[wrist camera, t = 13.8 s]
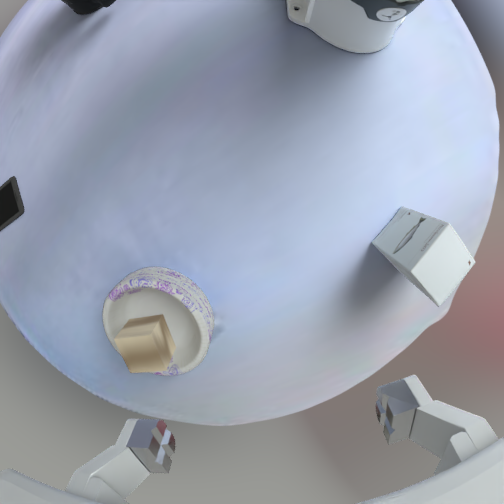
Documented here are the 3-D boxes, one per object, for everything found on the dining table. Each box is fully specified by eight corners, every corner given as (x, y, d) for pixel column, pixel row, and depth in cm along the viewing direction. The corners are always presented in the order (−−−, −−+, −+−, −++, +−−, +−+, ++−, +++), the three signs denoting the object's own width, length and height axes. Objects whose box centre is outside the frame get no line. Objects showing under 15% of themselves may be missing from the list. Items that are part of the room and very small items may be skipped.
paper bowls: (143, 352, 45) (127, 381, 38) (109, 270, 41) (84, 289, 34) (228, 340, 44) (223, 372, 36) (200, 248, 40) (187, 267, 32)
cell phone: (-18, 205, 39) (-20, 206, 38) (16, 174, 37) (13, 174, 36) (-8, 238, 41) (-11, 239, 40) (26, 211, 39) (24, 212, 38)
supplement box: (401, 204, 38) (451, 220, 25) (428, 238, 39) (477, 263, 27) (368, 241, 39) (409, 271, 27) (398, 273, 40) (440, 309, 28)
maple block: (129, 319, 35) (113, 339, 30) (163, 314, 34) (150, 335, 29) (143, 350, 36) (130, 372, 31) (176, 347, 36) (166, 370, 31)
